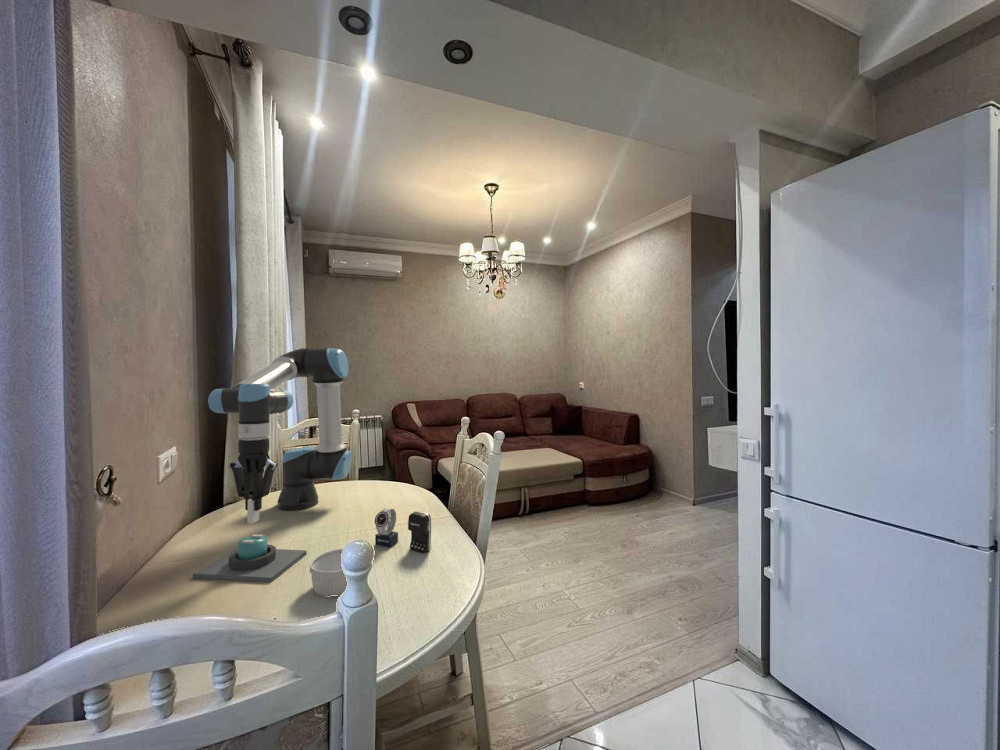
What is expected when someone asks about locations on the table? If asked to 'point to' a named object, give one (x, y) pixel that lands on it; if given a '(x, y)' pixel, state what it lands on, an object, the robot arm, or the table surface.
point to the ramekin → (328, 574)
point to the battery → (420, 531)
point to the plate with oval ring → (251, 566)
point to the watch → (381, 522)
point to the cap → (252, 547)
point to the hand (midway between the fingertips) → (253, 521)
